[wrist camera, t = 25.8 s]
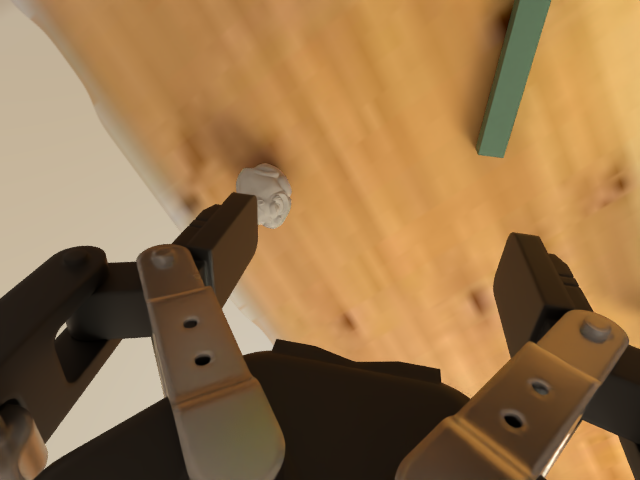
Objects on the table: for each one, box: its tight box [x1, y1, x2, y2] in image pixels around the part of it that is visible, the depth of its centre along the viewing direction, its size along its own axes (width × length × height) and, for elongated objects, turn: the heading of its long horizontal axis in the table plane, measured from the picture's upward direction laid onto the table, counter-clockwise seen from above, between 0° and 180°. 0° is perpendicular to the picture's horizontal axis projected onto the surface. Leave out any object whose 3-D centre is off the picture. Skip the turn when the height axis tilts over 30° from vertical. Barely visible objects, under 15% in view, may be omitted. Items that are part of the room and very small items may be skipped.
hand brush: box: [476, 0, 551, 158], centre depth 36 cm, size 24×10×3 cm, turn 176°
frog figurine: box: [236, 163, 292, 229], centre depth 46 cm, size 6×7×7 cm
